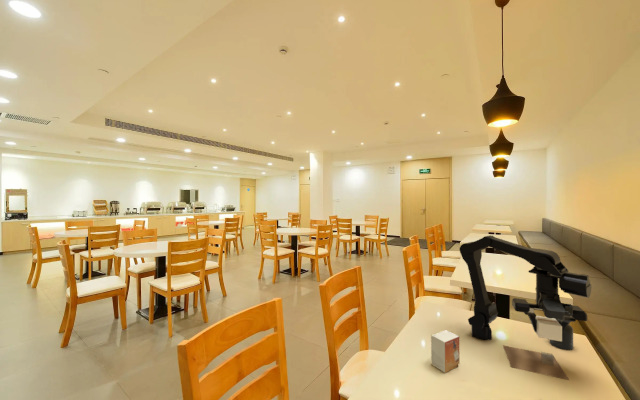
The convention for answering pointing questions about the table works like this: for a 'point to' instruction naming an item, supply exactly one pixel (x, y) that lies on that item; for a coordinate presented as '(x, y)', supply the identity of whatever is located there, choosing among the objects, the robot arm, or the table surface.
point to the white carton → (548, 328)
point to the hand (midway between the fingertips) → (547, 333)
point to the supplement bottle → (564, 339)
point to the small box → (445, 350)
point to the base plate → (532, 362)
